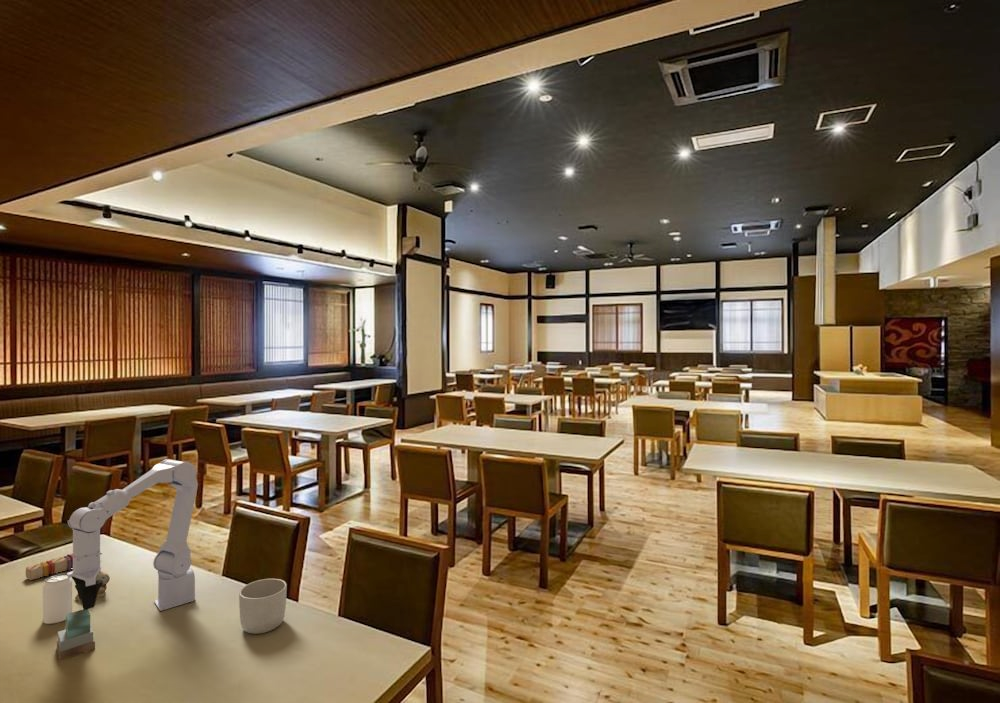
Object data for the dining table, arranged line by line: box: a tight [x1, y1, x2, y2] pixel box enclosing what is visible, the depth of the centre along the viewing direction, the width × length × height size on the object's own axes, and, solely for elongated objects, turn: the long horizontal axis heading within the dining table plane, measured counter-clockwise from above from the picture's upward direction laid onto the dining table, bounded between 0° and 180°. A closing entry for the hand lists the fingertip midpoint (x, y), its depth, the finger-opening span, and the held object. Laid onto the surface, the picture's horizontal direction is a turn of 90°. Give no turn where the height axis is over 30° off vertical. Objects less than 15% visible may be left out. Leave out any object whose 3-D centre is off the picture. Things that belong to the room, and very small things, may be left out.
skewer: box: [25, 552, 102, 581], centre depth 179 cm, size 21×6×5 cm, turn 148°
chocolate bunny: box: [74, 570, 111, 602], centre depth 160 cm, size 6×8×10 cm
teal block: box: [65, 608, 91, 638], centre depth 133 cm, size 4×4×4 cm
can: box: [42, 573, 73, 625], centre depth 147 cm, size 6×6×12 cm
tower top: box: [57, 624, 94, 652], centre depth 133 cm, size 6×6×2 cm
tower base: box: [56, 636, 96, 661], centre depth 133 cm, size 7×7×2 cm
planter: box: [238, 578, 288, 635], centre depth 145 cm, size 12×12×11 cm
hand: (86, 603), depth 137 cm, fingers open, 7 cm apart
